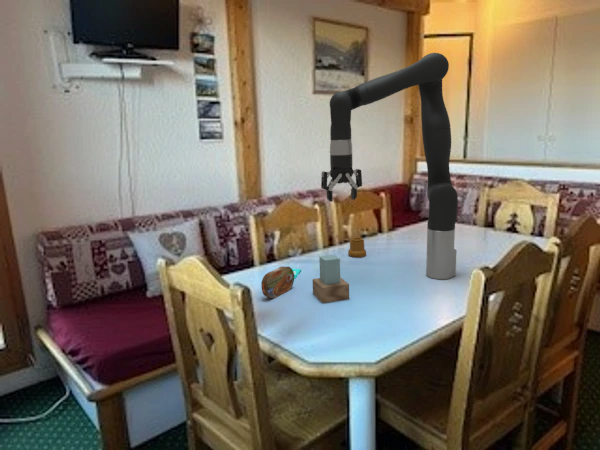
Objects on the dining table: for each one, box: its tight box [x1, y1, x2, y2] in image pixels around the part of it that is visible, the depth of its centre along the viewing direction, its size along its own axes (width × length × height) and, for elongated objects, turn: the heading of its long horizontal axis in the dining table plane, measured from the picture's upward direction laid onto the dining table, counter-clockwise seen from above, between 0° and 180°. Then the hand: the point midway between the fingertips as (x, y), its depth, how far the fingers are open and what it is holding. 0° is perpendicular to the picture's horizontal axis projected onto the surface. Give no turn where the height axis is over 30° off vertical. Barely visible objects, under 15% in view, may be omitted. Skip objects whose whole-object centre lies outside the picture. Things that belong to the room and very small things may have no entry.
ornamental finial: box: [347, 235, 367, 258], centre depth 196 cm, size 8×8×8 cm
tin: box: [261, 265, 295, 299], centre depth 155 cm, size 15×3×8 cm, turn 146°
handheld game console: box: [291, 268, 302, 280], centre depth 172 cm, size 10×16×1 cm, turn 166°
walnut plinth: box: [312, 276, 350, 304], centre depth 152 cm, size 9×9×5 cm
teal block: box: [318, 254, 341, 285], centre depth 150 cm, size 5×5×8 cm
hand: (342, 200), depth 164 cm, fingers open, 8 cm apart
